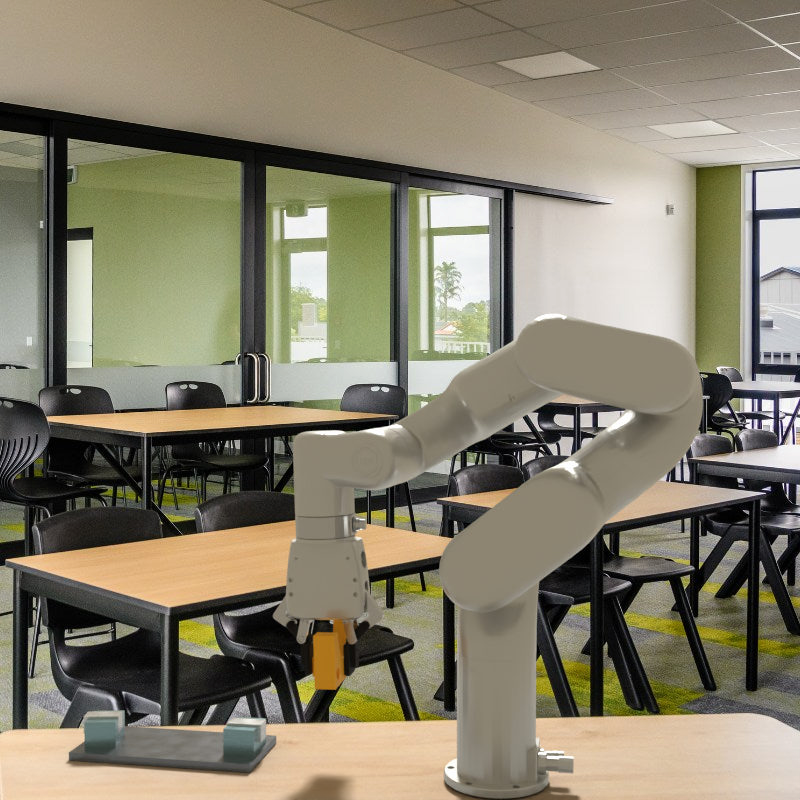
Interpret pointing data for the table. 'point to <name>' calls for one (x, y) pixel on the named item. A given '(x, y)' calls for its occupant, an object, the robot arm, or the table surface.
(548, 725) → the table surface
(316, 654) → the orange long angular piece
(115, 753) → the workpiece vise
